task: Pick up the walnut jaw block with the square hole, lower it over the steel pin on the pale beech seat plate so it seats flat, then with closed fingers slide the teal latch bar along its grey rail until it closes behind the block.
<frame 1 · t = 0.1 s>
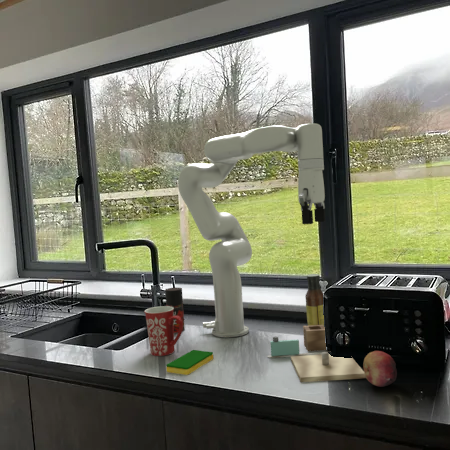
hand: (314, 222, 147), 37 cm above the counter, tool pointing down, fingers open, 9 cm apart
dish sponge: (190, 367, 137), on the counter
sauce bottle: (317, 336, 158), on the counter
deodorant: (176, 331, 174), on the counter
seat: (325, 368, 128), on the counter
latch bar: (284, 345, 139), point 3 cm above the counter, slide at 0.0 cm
jaw block: (315, 347, 146), on the counter
mug: (166, 353, 149), on the counter
fruit: (380, 386, 115), on the counter
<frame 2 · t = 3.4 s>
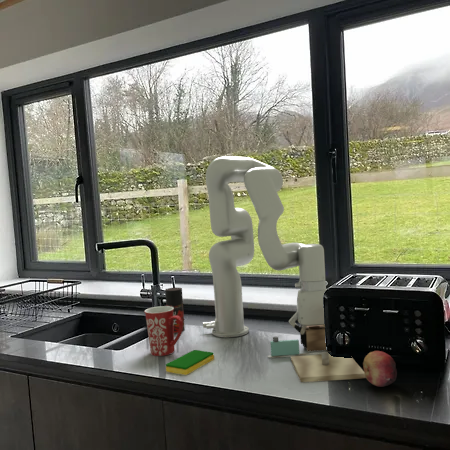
hand: (315, 344, 146), 1 cm above the counter, tool pointing down, fingers closed on jaw block, 6 cm apart
jaw block: (315, 347, 146), on the counter, touching gripper
everything else where it was.
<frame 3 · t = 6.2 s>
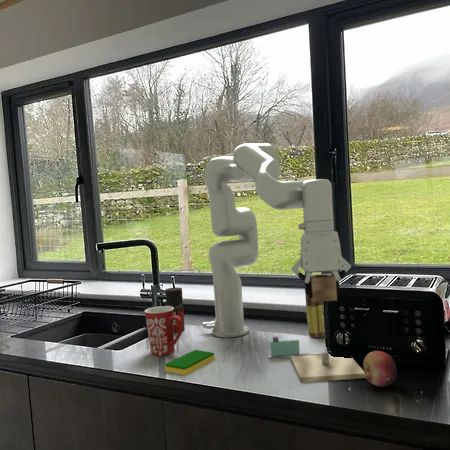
hand: (322, 295, 127), 19 cm above the counter, tool pointing down, fingers closed on jaw block, 6 cm apart
jaw block: (322, 298, 127), point 19 cm above the counter, touching gripper
everything else where it was.
when the fingers open (2 cm above the counter, at t = 8.9 s): jaw block stays where it is, resting on seat.
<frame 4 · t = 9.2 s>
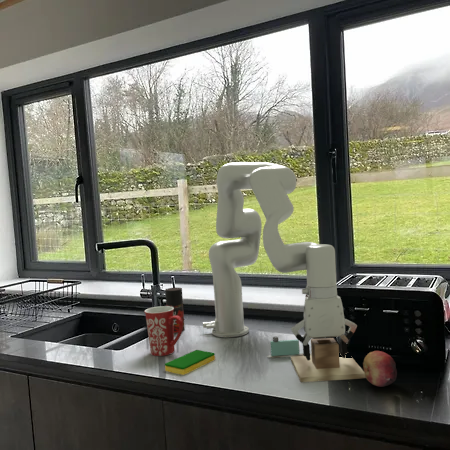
hand: (325, 357, 128), 3 cm above the counter, tool pointing down, fingers open, 8 cm apart
jaw block: (325, 364, 128), point 1 cm above the counter, touching seat
everything else where it was.
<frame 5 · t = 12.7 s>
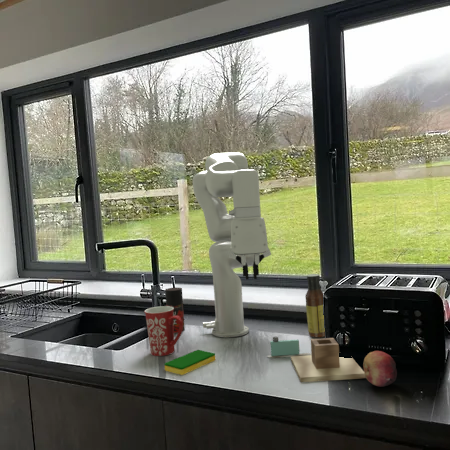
hand: (251, 278, 138), 23 cm above the counter, tool pointing down, fingers closed
nothing on the counter moved.
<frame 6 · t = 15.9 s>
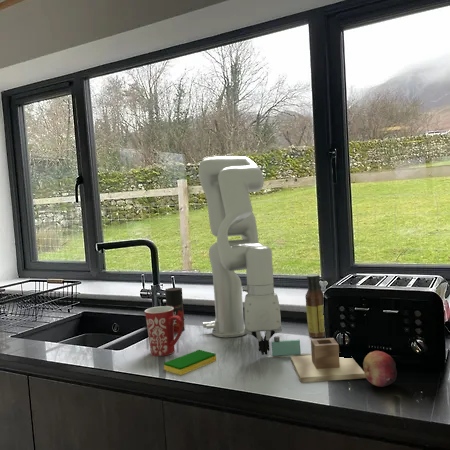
hand: (264, 353, 139), 1 cm above the counter, tool pointing down, fingers closed
latch bar: (285, 345, 139), point 3 cm above the counter, slide at 0.3 cm, touching gripper
everything else where it was.
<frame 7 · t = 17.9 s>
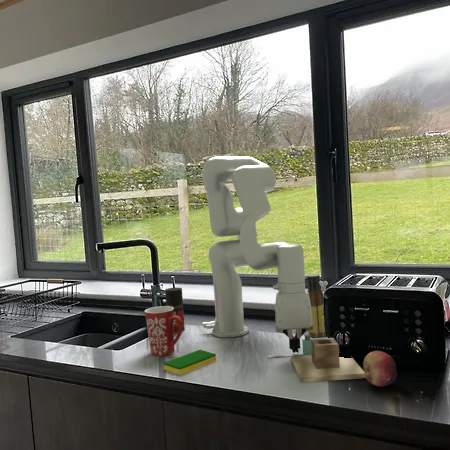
hand: (295, 351, 140), 1 cm above the counter, tool pointing down, fingers closed
latch bar: (316, 343, 140), point 3 cm above the counter, slide at 9.1 cm, touching gripper
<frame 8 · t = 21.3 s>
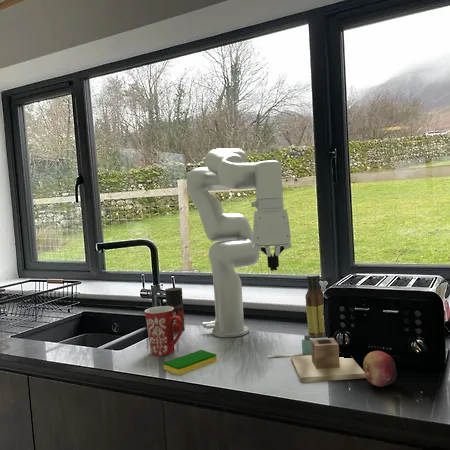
hand: (273, 269, 138), 25 cm above the counter, tool pointing down, fingers closed
latch bar: (316, 343, 140), point 3 cm above the counter, slide at 9.0 cm
at the end: jaw block 0.0 cm off-centre on the seat, point 1.2 cm above the seat's base; jaw block tilted 0°; latch bar slide at 9.0 cm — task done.
